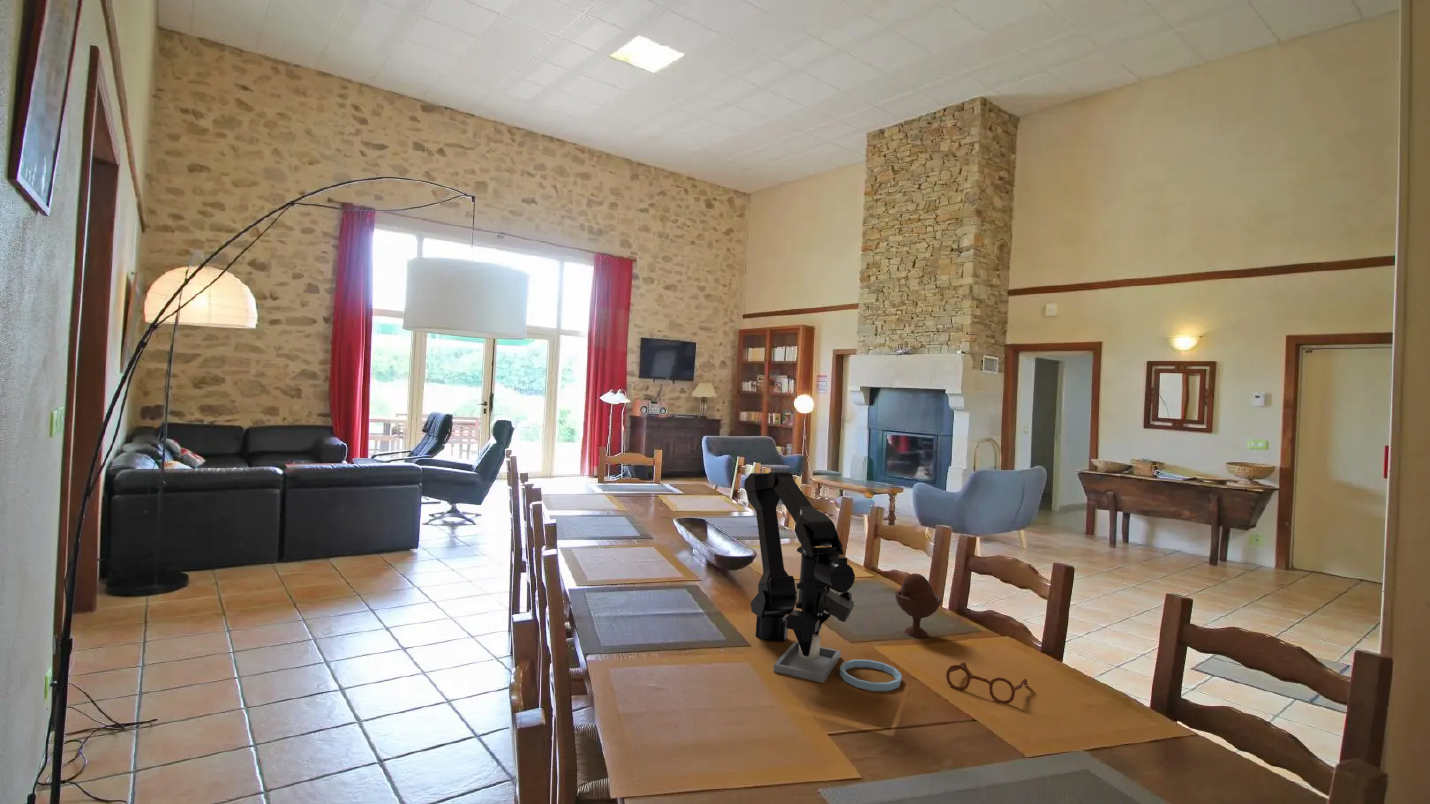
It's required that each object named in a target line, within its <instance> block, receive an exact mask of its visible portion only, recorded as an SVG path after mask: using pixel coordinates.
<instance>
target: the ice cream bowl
mask: <svg viewBox="0 0 1430 804" xmlns="http://www.w3.org/2000/svg"><path fill="white" fill-rule="evenodd" d="M894 594H895V600H896V603H897V604H898V606H899V608H900V609H901V610H902V611H903V612H904V613H906V614H907V615H908V616H910V617H912V625H911V626H908V627H906V628H905V629H904V631H903V632H904V633H905V634H906V633H907V634H908V635H907V634H906V635H907V636H910V635H911V636H910V637H912V636H913V638H920V639H921V638H926V637H927V636H928V631H926V630H924V629H923V628H922V627H921V621H922V619H923V618H924V619H925V618H928V617H930V616H933V614H934V613H936V612H937V610H938V609H939V607H940V605H941V603H942V597H941V596H939V595H938V594H937V593H934V589H933V587H932V585H931V584H930V582H929V581H928V579H927V578H926V577H925V575H921V574H920V573H911V574H907V575H906V576H905V577H904V579H903V581H902V584H901V586H900V589H898V590H897V591H895V593H894Z"/></svg>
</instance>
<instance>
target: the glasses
mask: <svg viewBox="0 0 1430 804" xmlns="http://www.w3.org/2000/svg"><path fill="white" fill-rule="evenodd" d="M967 668H968V667H967V663H966V662H965V661H962V662H960V663H959V664H954V665H951V666H949V667H948V668H947V671H946V674H945V677H946V682H947V684H948V685H949V686H950V687H951V688H953V689H956V690H958V689H959V691H964V690H966V689H967V688H968V687H969V686H970V682H971V681H972V679H973V680H978V681H981V682H983V683H986V684H988V688H989V689H988V691H989V695H990V697H991V698H992V700H994V701H995V702H997V703H1000V702H1001V703H1000V704H1003V703H1004V704H1003V705H1007V704H1010V703H1012V702H1013V700H1014V699H1015V696H1016V691H1018V690H1019V689H1021V688H1022V687H1023V685H1024V686H1025V685H1027V686H1028V679H1027V678H1023V679H1022V680H1021V682H1020V683H1019V684H1017V685H1015V686H1014V684H1013V683H1012V682H1011V681H1010V680H1008V679H1007V678H1003V677H995V678H992V679H991V680H989V679H987V678H985V677H981V676H977V675H971V673H970V671H969V670H968V669H967ZM959 670H962V671H963V672H964V673H965V675H966V683H965V685H964V686H957V685H955V684H953V683H952V681H951V678H950V674H951V673H953V672H956V671H959ZM998 681H999V682H1004V683H1006V684H1007V685H1008V686H1009V688H1010V690H1011V694H1010V697H1009V699H1006V700H1002V699H999V698H998V697H996V695H995V694H994V692H993V691H994V690H993V687H994V684H995V683H996V682H998Z"/></svg>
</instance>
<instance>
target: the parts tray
mask: <svg viewBox="0 0 1430 804" xmlns="http://www.w3.org/2000/svg"><path fill="white" fill-rule="evenodd" d="M841 651H842V650H839V649H835V648H829V647H825V646H824V647H823V646H820V655H819V658H818V659H815V660H809V659H804V658H801V657H800V656H799V655H798V652H799V643H798V641H793V642H792V643H791V645H790V646H789V647H788V648H787V649H786V650H785V652H784V653H783V654H782V655H781V656H780V657H779V658H778V660H776V662H775V663H773V673H777V674H781V675H786V676H790V677H794V678H799V679H805V680H807V681H812V682H817V683H821V684H824V683H825V682H826V681H827V679H828V677H829V676H830V675H831V672H832V671H833V670H834V668H835V667H836V665H837V663H838V662H839V660H840V658H841V655H842V654H841V653H842V652H841Z"/></svg>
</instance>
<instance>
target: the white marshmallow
mask: <svg viewBox="0 0 1430 804" xmlns="http://www.w3.org/2000/svg"><path fill="white" fill-rule="evenodd" d="M820 647H821V636H820V634H819V635H817V634H814V636H813V640H812V645H811V649H810V653H809V656H804V655H803V653H802V650H801V648H800V645H799V652H798V655H799V656H800V657H801V658H804V659H809V660H815V659H818V658H819V655H820Z"/></svg>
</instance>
